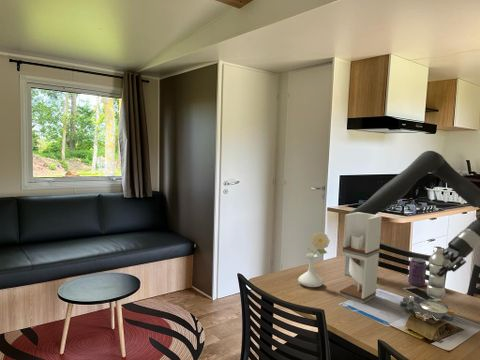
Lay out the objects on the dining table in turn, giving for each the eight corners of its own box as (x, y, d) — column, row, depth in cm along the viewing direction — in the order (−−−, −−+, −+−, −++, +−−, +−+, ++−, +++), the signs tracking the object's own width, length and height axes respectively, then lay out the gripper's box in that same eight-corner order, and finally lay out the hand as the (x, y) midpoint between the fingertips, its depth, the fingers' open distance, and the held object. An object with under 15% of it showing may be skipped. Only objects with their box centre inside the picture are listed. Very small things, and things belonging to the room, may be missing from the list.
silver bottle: (442, 295, 140) (446, 246, 138) (446, 302, 133) (450, 250, 132) (424, 293, 142) (428, 244, 140) (427, 299, 136) (431, 248, 134)
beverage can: (420, 282, 170) (423, 258, 168) (427, 287, 163) (429, 262, 161) (405, 281, 170) (407, 257, 169) (411, 286, 163) (413, 261, 162)
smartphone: (415, 286, 163) (442, 300, 149) (414, 287, 163) (442, 301, 149) (402, 287, 161) (428, 301, 147) (401, 289, 161) (428, 303, 147)
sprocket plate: (401, 315, 134) (402, 303, 134) (399, 296, 151) (399, 286, 151) (458, 325, 127) (459, 314, 127) (449, 305, 144) (450, 294, 144)
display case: (352, 288, 158) (358, 212, 155) (375, 296, 151) (381, 216, 148) (339, 295, 150) (345, 214, 147) (363, 303, 143) (369, 219, 140)
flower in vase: (295, 286, 158) (298, 232, 155) (300, 278, 168) (303, 227, 166) (324, 292, 153) (328, 235, 151) (328, 283, 163) (331, 230, 161)
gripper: (446, 231, 143) (416, 259, 143) (472, 240, 129) (438, 271, 129) (458, 244, 144) (428, 272, 144) (484, 255, 130) (451, 285, 130)
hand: (433, 271), depth 137 cm, fingers closed on silver bottle, 6 cm apart
